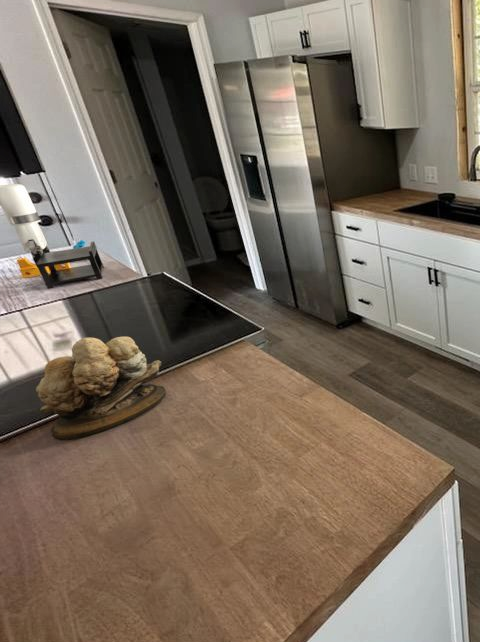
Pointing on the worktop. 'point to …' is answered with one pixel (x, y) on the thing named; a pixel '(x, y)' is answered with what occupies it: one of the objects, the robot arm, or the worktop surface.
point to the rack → (70, 273)
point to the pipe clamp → (35, 268)
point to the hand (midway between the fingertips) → (45, 263)
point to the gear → (80, 244)
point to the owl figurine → (98, 387)
